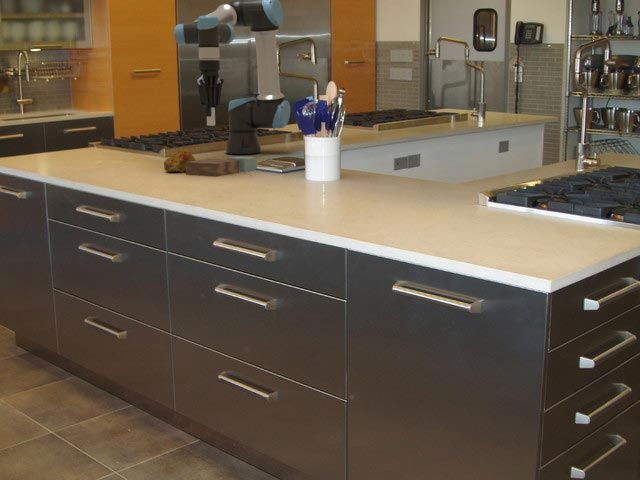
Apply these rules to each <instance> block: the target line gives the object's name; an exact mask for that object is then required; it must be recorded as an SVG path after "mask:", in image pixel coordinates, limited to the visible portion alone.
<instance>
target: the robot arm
mask: <svg viewBox="0 0 640 480" xmlns="http://www.w3.org/2000/svg"><path fill="white" fill-rule="evenodd" d="M283 22H284V10H283V7H282V4H281V2H280V1H279V0H229V1H227V2H225V3H222V4H220V5H219V6H218V7H216V9H215V10H214V11H212V12H210V13H208V14H206V15H200V16H198V18H197V19H195V20H194V21H191V22H189V23H181V24H176V26H175V27H174V30H173V37H174V41H175V42H176V43H177V44H178V45H186V46H187V45H198V59H199V61H198V70H199V71H200V75H199V78H197V79H195V83H196V85H197V89H198V95H199V100H200V104H201V106H202V107H203V108H205V116H206V126H209V127H210V126H212V127H213V126H216V108H218V107H219V106H220V102H221V95H222V87H223V83H224V79H223V78H220V74H219V71H220V70H221V67H220V66H221V64H220V60H219V59H220V56H221V55H220V45H228V44H230V43H231V44H232V42H233V41H234V40H235V35H236V32H235V29H234V28H235V27H249V28H250V33H252V34H253V36H254V41H255V42H254V43H255V52H256V61H257V63H256V64H257V76H258V85H259V86H258V87H259V94H258V95H257V96H256V97H255V96H253V97H252V96H251V97H245V98H243V97H242V98H239V99H238V98H237V99H233V100H232V99H231V100H230V101H229V103H228V109H227V110H228V111H227V112H228V130H229V132H228V135H229V136H228V139H227V142H226V146H225V153H226V154H231V155H235V154H236V155H245V154H246V155H247V154H248V155H249V154H259V153H262V147H261V144H260V141H259V138H258V135H257V134H258V133H257V129H273V130H276V129H283V128H285V127H286V126H287V125H288V123H289V121H290V116H291V104H290V101H288V100H285V95H284V93H282V92H281V83H280V74H279V60H278V48H277V37H276V34H277V32H279V30H280V26H281V25H283Z"/></svg>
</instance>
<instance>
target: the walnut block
mask: <svg viewBox="0 0 640 480" xmlns="http://www.w3.org/2000/svg"><path fill="white" fill-rule="evenodd" d="M239 173H240V171H239V160H227V159H222V158H221V159H220V158H207V159H206V158H204V159H197V160H196V161H190V162H186V171H185V175H186V176H201V177H202V176H203V177H214V178H216V177H222V176H228V175H234V174H239Z"/></svg>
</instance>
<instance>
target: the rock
mask: <svg viewBox="0 0 640 480" xmlns="http://www.w3.org/2000/svg"><path fill="white" fill-rule="evenodd" d="M190 161H197V160H196V158H195V157H194V155H192V153H191V152H190V151H189V150H187V149H185V148H181V149H178V150H177V151H175V152H174V153H172V154H171V155H170V156H169V158H166V159H165V160H164V162H163V167H164V171H165V172H169V173H170V172H171V173H172V172H180V173H183V172H186V162H190Z"/></svg>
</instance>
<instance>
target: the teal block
mask: <svg viewBox="0 0 640 480" xmlns="http://www.w3.org/2000/svg"><path fill="white" fill-rule="evenodd" d="M226 160H239V173H240V172H241V173H243V172H244V173H246V172H252V171H255V170H258V165H257V164H258V162H257V161H258V159H257V156H243V155H242V156H241V155H238V156H233V157H227V159H226Z"/></svg>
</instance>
